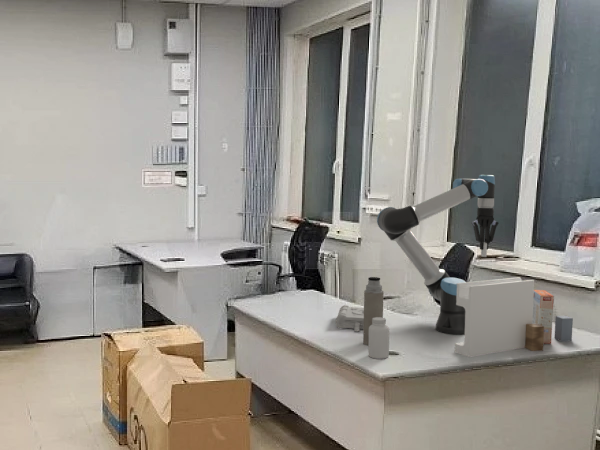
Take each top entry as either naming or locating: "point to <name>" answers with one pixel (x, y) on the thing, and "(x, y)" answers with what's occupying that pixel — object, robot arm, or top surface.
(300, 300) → the top surface
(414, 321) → the top surface
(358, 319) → the gray tool case
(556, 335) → the slate block
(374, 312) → the thermos bottle
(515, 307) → the block
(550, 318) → the cracker box
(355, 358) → the top surface
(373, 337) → the pill bottle
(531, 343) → the walnut block
